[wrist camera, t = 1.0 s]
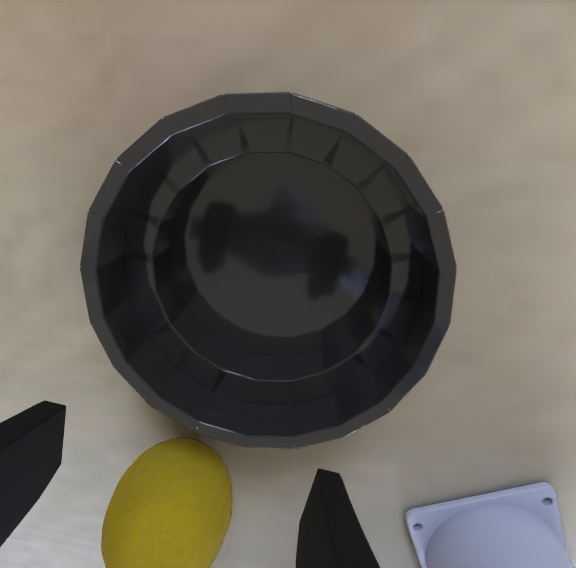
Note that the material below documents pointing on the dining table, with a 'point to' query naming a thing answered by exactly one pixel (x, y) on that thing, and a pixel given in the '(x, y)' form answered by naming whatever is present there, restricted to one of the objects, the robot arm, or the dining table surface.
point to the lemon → (169, 509)
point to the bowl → (268, 270)
